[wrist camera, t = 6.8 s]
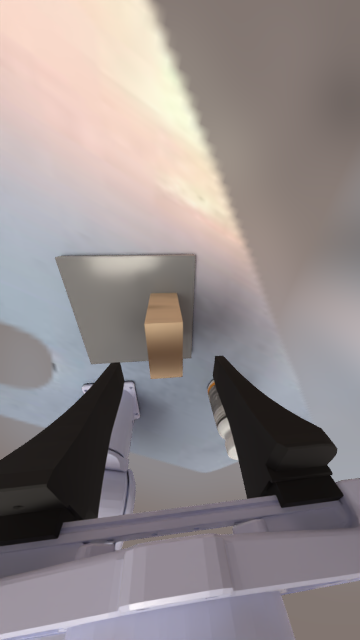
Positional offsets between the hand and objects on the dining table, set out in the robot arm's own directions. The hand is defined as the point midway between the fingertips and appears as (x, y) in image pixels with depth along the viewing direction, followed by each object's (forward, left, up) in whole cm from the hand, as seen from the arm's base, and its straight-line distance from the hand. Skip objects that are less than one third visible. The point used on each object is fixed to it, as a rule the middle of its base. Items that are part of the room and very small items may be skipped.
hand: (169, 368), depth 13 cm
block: (0, 0, -9) cm, 9 cm away
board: (0, +4, -10) cm, 11 cm away
